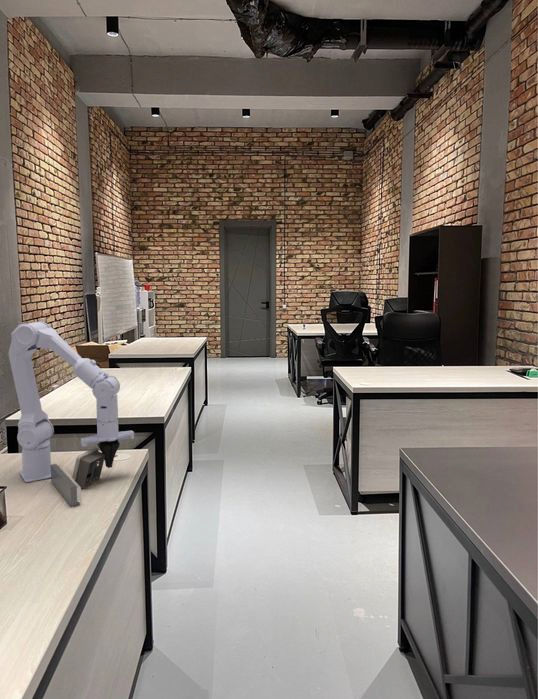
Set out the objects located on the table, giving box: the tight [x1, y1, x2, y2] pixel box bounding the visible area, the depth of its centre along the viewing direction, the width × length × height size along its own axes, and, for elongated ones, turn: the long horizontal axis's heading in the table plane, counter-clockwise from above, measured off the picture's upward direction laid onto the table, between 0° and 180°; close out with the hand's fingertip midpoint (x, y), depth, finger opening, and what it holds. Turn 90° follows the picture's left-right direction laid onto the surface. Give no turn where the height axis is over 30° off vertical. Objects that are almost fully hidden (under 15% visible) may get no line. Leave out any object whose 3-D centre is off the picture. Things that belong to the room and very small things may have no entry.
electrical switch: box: [71, 446, 105, 489], centre depth 147 cm, size 9×5×9 cm, turn 165°
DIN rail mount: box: [50, 463, 82, 508], centre depth 140 cm, size 20×2×5 cm, turn 35°
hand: (108, 466), depth 151 cm, fingers closed
